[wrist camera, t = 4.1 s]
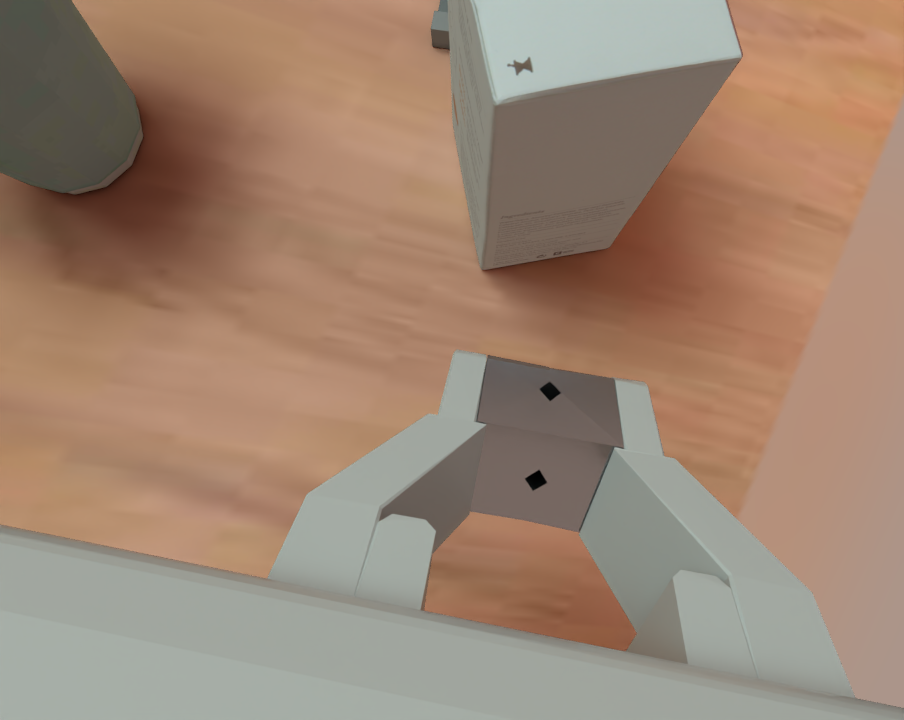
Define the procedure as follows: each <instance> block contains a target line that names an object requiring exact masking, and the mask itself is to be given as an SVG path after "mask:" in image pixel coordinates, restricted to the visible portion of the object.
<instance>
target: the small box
mask: <svg viewBox="0 0 904 720" xmlns="http://www.w3.org/2000/svg"><path fill="white" fill-rule="evenodd" d="M448 25H449V42H450V64H451V90H452V119H453V128H454V134H455V140H456V145H457V151H458V156H459V162H460V167H461V172H462V178H463V183H464V188H465V194H466V199H467V204H468V210H469V215H470V220H471V225H472V231H473V236H474V241H475V246H476V251H477V255H478V260H479V264H480V268H481V269H482V270H487V269H492V268H499V267H504V266H509V265H516V264H521V263H527V262H532V261H538V260H543V259H549V258H555V257H560V256H566V255H571V254H577V253H583V252H589V251H595V250H601V249H607V248H609V247H610V246H611V245H612V243H613V242H614V240H615V239H616V237H617V236H618V235H619V233H620V231H621V230H622V229H623V227H624V226H625V224H626V223H627V222H628V220H629V219H630V217H631V216H632V215H633V213H634V212H635V210H636V209H637V208H638V206H639V205H640V203H641V202H642V200H643V199H644V198H645V196H646V195H647V193H648V192H649V190H650V189H651V187H652V186H653V184H654V183H655V181H656V180H657V179H658V177H659V176H660V175H661V173H662V172H663V170H664V169H665V167H666V166H667V164H668V163H669V162H670V160H671V159H672V157H673V156H674V154H675V153H676V151H677V150H678V149H679V147H680V146H681V144H682V143H683V141H684V140H685V138H686V137H687V136H688V134H689V133H690V131H691V130H692V128H693V127H694V126H695V124H696V123H697V121H698V120H699V118H700V117H701V116H702V114H703V113H704V111H705V110H706V108H707V107H708V105H709V104H710V102H711V101H712V100H713V98H714V97H715V96H716V94H717V93H718V91H719V90H720V88H721V87H722V85H723V84H724V82H725V81H726V80H727V78H728V77H729V75H730V74H731V73H732V71H733V70H734V68H735V67H736V65H737V64H738V63H739V61H740V60H741V59H742V57H743V53H742V49H741V46H740V43H739V39H738V36H737V32H736V29H735V26H734V22H733V19H732V15H731V11H730V8H729V4H728V1H727V0H448Z"/></svg>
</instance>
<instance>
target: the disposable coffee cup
mask: <svg viewBox="0 0 904 720" xmlns="http://www.w3.org/2000/svg"><path fill="white" fill-rule="evenodd" d="M142 139H143V132H142V126H141V120H140V115H139V109H138V107H137V105H136V99H135V95H134V94H133V92H132V91H131V89H130V88H129V86H128V85H127V83H126V82H125V80H124V79H123V77H122V76H121V74H120V73H119V71H118V70H117V68H116V67H115V65H114V64H113V62H112V61H111V59H110V58H109V56H108V55H107V53H106V52H105V50H104V49H103V47H102V46H101V44H100V43H99V41H98V40H97V38H96V37H95V35H94V34H93V32H92V31H91V29H90V28H89V26H88V25H87V23H86V22H85V20H84V19H83V17H82V16H81V14H80V13H79V11H78V10H77V8H76V7H75V5H74V4H73V2H72V1H71V0H0V172H1V173H3V174H6V175H8V176H10V177H13V178H15V179H17V180H20V181H22V182H24V183H27V184H29V185H33V186H37V187H40V188H44V189H48V190H52V191H56V192H60V193H66V192H67V193H70V194H74V195H76V194H80V193H84V192H88V191H92V190H96V189H99V188H103V187H107V186H108V185H109V184H110V183H112V182H113V181H114V180H115V179H116V178H117V177H119V176H120V175H121V174H122V173H123V172H125V171H126V170H127V169H128V168H129V167H130V166H132V164H133V161H134V159H135V156H136V154H137V151H138V149H139V146H140V144H141V141H142Z"/></svg>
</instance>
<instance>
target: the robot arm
mask: <svg viewBox="0 0 904 720" xmlns="http://www.w3.org/2000/svg"><path fill="white" fill-rule="evenodd" d="M486 359H487V362H486ZM485 365H486V367H485ZM484 371H485V372H484ZM470 511H471V512H477V513H483V514H489V515H495V516H502V517H508V518H514V519H520V520H525V521H530V522H534V523H539V524H544V525H548V526H553V527H557V528H562V529H566V530H571V531H576V532H580V533H579V536H580V538H581V539H582V541H583V543H584V544H585V546H586V548H587V549H588V551H589V553H590V555H591V556H592V558H593V560H594V561H595V563H596V565H597V566H598V568H599V570H600V571H601V573H602V575H603V576H604V578H605V580H606V582H607V583H608V585H609V587H610V588H611V590H612V592H613V593H614V595H615V597H616V598H617V600H618V602H619V604H620V605H621V607H622V609H623V610H624V612H625V614H626V615H627V617H628V619H629V620H630V622H631V624H632V625H633V627H634V629H635V631H636V632H637V634H636V636H635V638H634V639H633V641H632V642H631V644H630V645H629V647H628V649H627V650H626V652H625V651H620V650H615V649H610V648H605V647H600V646H595V645H590V644H585V643H580V642H575V641H570V640H565V639H561V638H556V637H551V636H546V635H541V634H536V633H531V632H526V631H521V630H516V629H511V628H506V627H501V626H496V625H491V624H486V623H481V622H477V621H472V620H467V619H462V618H457V617H452V616H447V615H442V614H437V613H433V612H428V611H424V607H425V601H426V594H427V587H428V580H429V574H430V567H431V560H432V554H433V553H434V552H435V550H436V549H437V548H438V547H439V546H440V545H441V544H442V543H443V542H444V541H445V540H446V539H447V538H448V537H449V535H450V534H451V533H452V532H453V531H454V530H455V529H456V528H457V527H458V526H459V525H460V524H461V523H462V522H463V521H464V519H465V518H466V517H467V516H468V515H469V513H470ZM0 720H904V708H901V707H896V706H891V705H886V704H881V703H876V702H871V701H866V700H861V699H856V698H855V696H854V693H853V691H852V688H851V686H850V683H849V681H848V679H847V676H846V674H845V671H844V669H843V667H842V664H841V662H840V659H839V657H838V654H837V652H836V650H835V647H834V645H833V642H832V640H831V637H830V635H829V633H828V630H827V628H826V625H825V623H824V621H823V618H822V616H821V613H820V611H819V608H818V606H817V603H816V601H815V599H814V596H813V594H812V592H811V591H810V590H809V589H808V588H807V587H806V586H805V585H804V584H803V583H801V581H799V579H798V578H796V577H795V576H794V575H793V574H792V573H791V572H790V571H789V570H788V569H787V568H786V567H785V566H784V565H783V564H782V563H781V562H780V561H779V560H778V559H777V558H776V557H775V556H774V555H773V554H772V553H771V552H770V551H769V550H768V549H767V548H766V547H765V546H764V545H763V544H762V543H761V542H760V541H758V539H757V538H755V537H754V536H753V535H752V534H751V533H750V532H749V531H748V530H747V529H746V528H745V527H744V526H743V525H742V524H741V523H740V522H739V521H738V520H737V519H736V518H735V517H734V516H733V515H732V514H731V513H730V512H729V511H728V510H727V509H726V508H725V507H724V506H723V505H722V504H721V503H720V502H719V501H718V500H717V499H716V498H715V497H714V496H713V495H711V494H710V493H709V492H708V491H707V490H706V489H705V488H704V487H703V486H702V485H701V484H700V483H699V482H698V481H697V480H696V479H695V478H694V477H693V476H692V475H691V474H690V473H689V472H688V471H687V470H686V469H685V468H684V467H683V466H682V465H681V464H680V463H679V462H678V461H677V460H676V459H675V458H669V457H665V456H664V452H663V448H662V443H661V439H660V435H659V431H658V427H657V422H656V418H655V414H654V410H653V405H652V401H651V397H650V393H649V389H648V386H647V385H646V384H645V382H642V381H635V380H628V379H621V378H614V377H612V378H608V377H602V376H596V375H590V374H584V373H578V372H572V371H566V370H560V369H554V368H549V367H546V366H541V365H536V364H531V363H526V362H521V361H516V360H511V359H505V358H500V357H495V356H490V355H488V357H486V355H485V354H479V353H474V352H468V351H462V350H457V349H456V351H455V352H454V354H453V357H452V361H451V365H450V369H449V373H448V377H447V380H446V384H445V388H444V392H443V396H442V400H441V404H440V408H439V412H438V415H434V414H427V415H425V416H424V417H422V418H421V419H419V420H418V421H416V422H415V423H413V424H412V425H410V426H409V427H407V428H406V429H404V430H403V431H401V432H400V433H398V434H397V435H395V436H394V437H392V438H391V439H389V440H388V441H386V442H385V443H383V444H382V445H380V446H379V447H377V448H376V449H374V450H373V451H371V452H370V453H368V454H367V455H365V456H363V457H362V458H360V459H359V460H357V461H356V462H354V463H353V464H351V465H350V466H348V467H347V468H345V469H344V470H342V471H341V472H339V473H338V474H336V475H335V476H333V477H332V478H330V479H329V480H327V481H326V482H324V483H323V484H321V485H320V486H318V487H317V488H315V489H314V490H312V491H311V492H309V493H308V494H307V495H306V497H305V499H304V502H303V504H302V506H301V508H300V510H299V512H298V514H297V516H296V518H295V521H294V523H293V525H292V527H291V529H290V531H289V533H288V535H287V538H286V540H285V542H284V544H283V546H282V548H281V550H280V552H279V554H278V557H277V559H276V561H275V563H274V565H273V567H272V569H271V571H270V573H269V576H268V578H262V577H257V576H252V575H247V574H242V573H237V572H232V571H228V570H223V569H218V568H213V567H208V566H203V565H198V564H193V563H188V562H183V561H178V560H173V559H168V558H163V557H159V556H154V555H149V554H144V553H139V552H134V551H129V550H124V549H119V548H114V547H109V546H104V545H99V544H95V543H90V542H85V541H80V540H75V539H70V538H65V537H60V536H55V535H50V534H45V533H40V532H35V531H31V530H26V529H21V528H16V527H11V526H6V525H1V524H0Z"/></svg>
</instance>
